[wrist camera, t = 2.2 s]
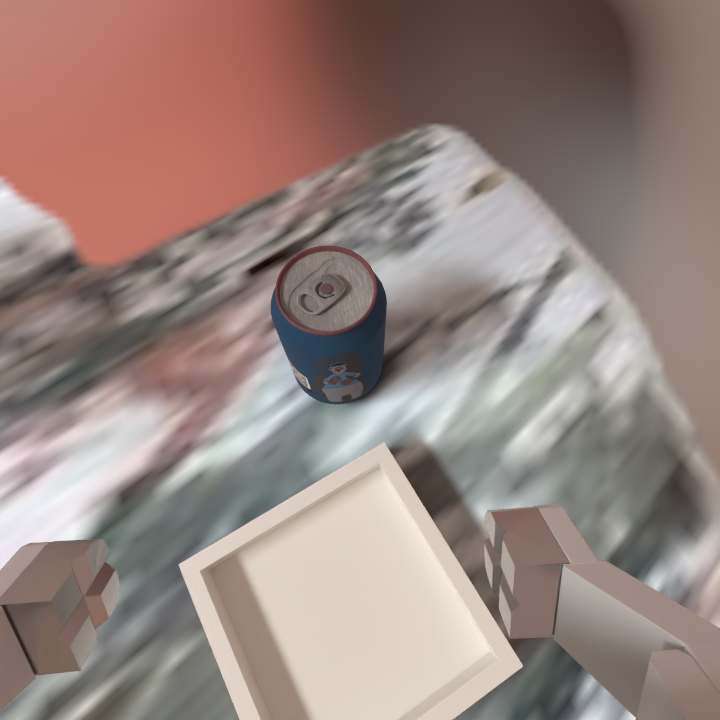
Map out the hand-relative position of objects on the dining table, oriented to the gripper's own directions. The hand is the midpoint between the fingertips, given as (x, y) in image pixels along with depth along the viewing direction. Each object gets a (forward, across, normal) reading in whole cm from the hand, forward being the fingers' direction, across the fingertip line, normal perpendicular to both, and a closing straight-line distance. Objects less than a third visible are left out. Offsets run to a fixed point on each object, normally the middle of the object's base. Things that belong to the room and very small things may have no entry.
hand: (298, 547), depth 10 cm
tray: (+14, 0, +19) cm, 24 cm away
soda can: (+26, 0, +7) cm, 27 cm away
